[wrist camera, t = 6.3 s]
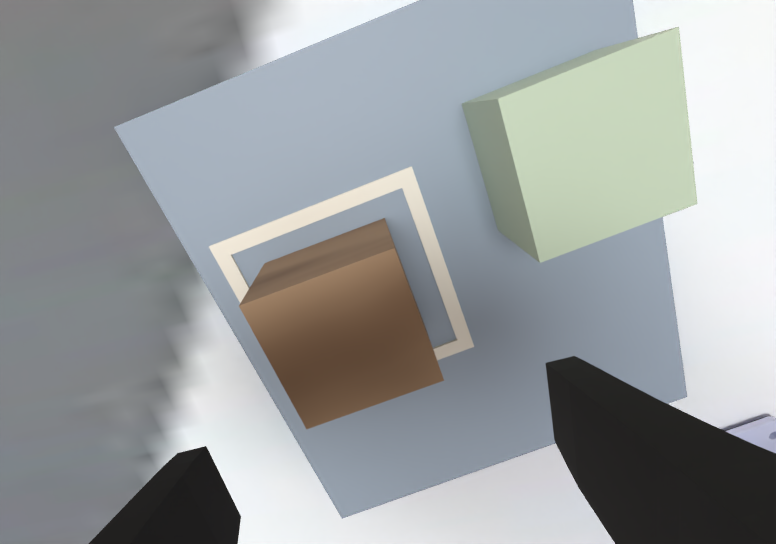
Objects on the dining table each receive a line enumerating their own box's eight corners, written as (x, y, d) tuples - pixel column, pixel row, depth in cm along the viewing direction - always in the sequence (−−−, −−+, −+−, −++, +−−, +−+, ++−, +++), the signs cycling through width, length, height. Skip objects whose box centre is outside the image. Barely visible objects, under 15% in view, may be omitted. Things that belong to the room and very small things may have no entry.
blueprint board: (672, 384, 21) (689, 398, 20) (342, 501, 22) (342, 520, 21) (603, -71, 14) (623, -86, 13) (128, 126, 15) (112, 127, 14)
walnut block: (425, 325, 18) (444, 380, 14) (315, 365, 18) (306, 429, 14) (384, 217, 16) (394, 247, 12) (264, 263, 16) (238, 306, 13)
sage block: (619, 184, 17) (696, 203, 13) (498, 230, 17) (540, 263, 13) (596, 49, 15) (678, 26, 11) (461, 103, 15) (498, 99, 11)
